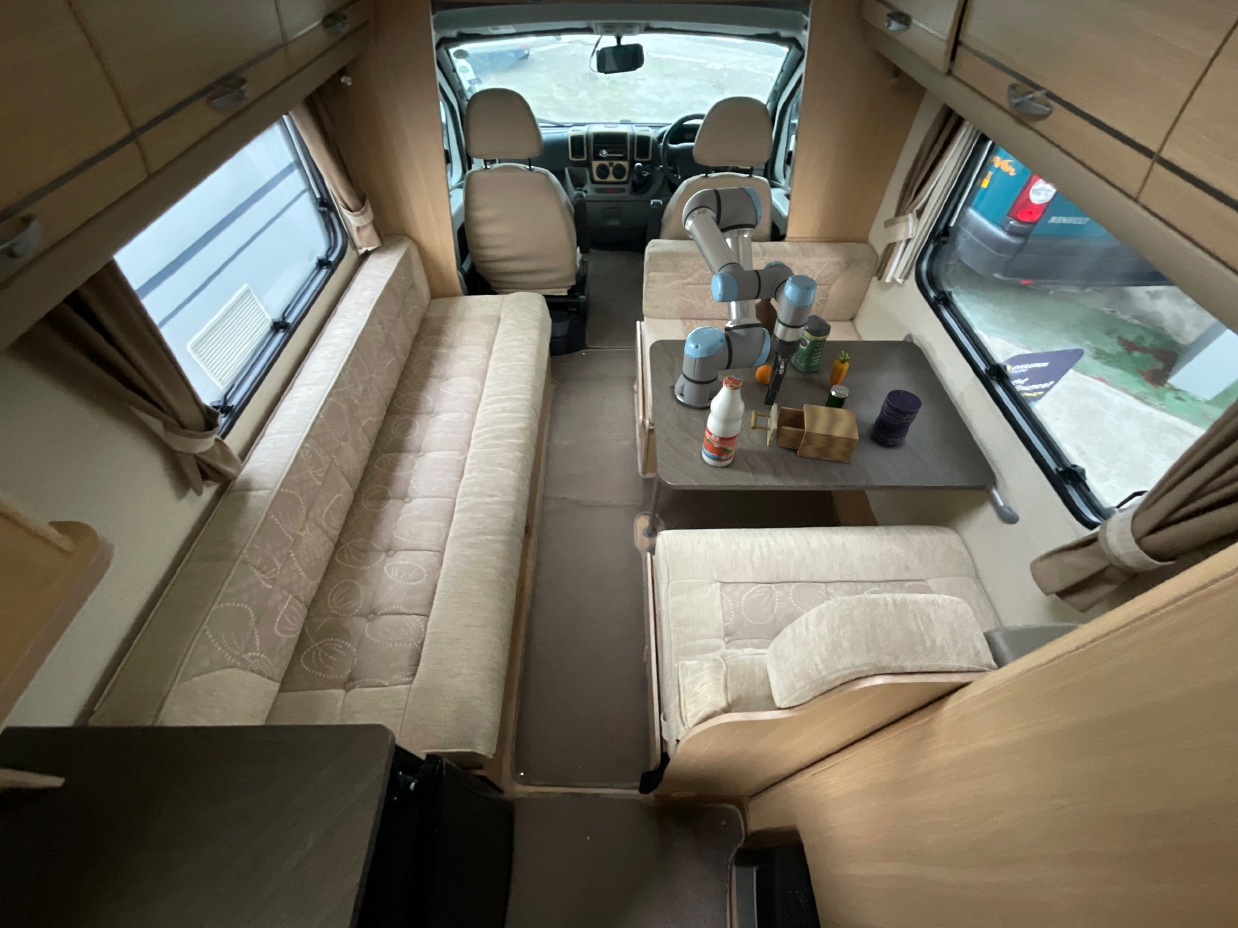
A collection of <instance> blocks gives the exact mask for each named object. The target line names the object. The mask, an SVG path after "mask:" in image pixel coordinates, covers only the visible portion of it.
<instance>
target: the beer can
mask: <svg viewBox="0 0 1238 928" xmlns="http://www.w3.org/2000/svg"><path fill="white" fill-rule="evenodd" d="M848 397H849V388H848V387H847V386H846V385H844V384H843V385H842V384H840V385H834V386H833V387H832V388H830V390H829V393H828V395H827V399H826V401H825V404H824V407H831V408H838V409H844V406H845V404H846V401H847V399H848Z"/></svg>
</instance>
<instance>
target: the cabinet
mask: <svg viewBox="0 0 1238 928" xmlns="http://www.w3.org/2000/svg"><path fill="white" fill-rule="evenodd" d="M824 406H825V405H824ZM824 406H823V405H816V404H810V403H809V404H808V403H804V404H803V406H802V410H804V420H805V433H804V436H803V439H802V442H801V445H800V448H799V449H796V452H797V457H803V458H804V457H805V458H812V459H818V460H823V461H824V460H825V461H831V462H836V463H837V462H838V463H844V464H849V463H850V460H851V459H852V455H853V453H854V451H855V449H856V447H857V445H858V442H859V440H860V438H859V437H860V436H859V430H858V424H857V416H856V410H853V409H852V410H851V409H845V408H843V409H838V408H831V407H824Z"/></svg>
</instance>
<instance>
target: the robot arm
mask: <svg viewBox="0 0 1238 928" xmlns="http://www.w3.org/2000/svg"><path fill="white" fill-rule="evenodd" d="M762 215H763V206H762V201H761V197H760V195H759V193H758V191H756V189H755V188H753V187H751V186H734V187H733V186H732V187H717V188H716V187H715V188H704V189H702V190H699V191H697V192H696V193H694V194H693V195H692V196H691V197H690V198H689V199H688V200H687V202H686V203H685V206H684V207H683V210H682V216H681V222H682V223H681V224H682V227H683V229H684V231H685V233H686V235H687V236H688V237H689V239H692V240H693V241H694V243H695V245H696V246H697V248H698V250H699V252H700V254H701V256H702V258H703V259H704V261H705V264H706V265H707V267H708V269H709V271H710V272H711V274H712V276H713V277H712V279H711V283H710V287H711V288H710V290H711V294H712V298H713V300H714V301H715V302H717V303H726V306H727V319H728V320H727V323H725V325H724V327H723V329H724V331H723V329H721V328H719V327H716V326H714V327H713V326H711V325H706V326H699V327H697V328H695V329H694V330H692V331H690V332H689V334H688V335H687V337H686V340H685V345H684V348H683V349H684V350H683V351H684V354H683V360H682V361H683V362H682V371H681V374H680V375H679V377H678V379H677V381H676V383H675V384H673V385H670V388H671V389H673V388H674V389H673V396H674V398H675V399H676V401H677V402H678V403H680V404H681V405H682V406H685V407H688V408H691V409H695V410H696V409H697V410H701V409H702V410H704V409H709V408H711V403H712V400H713V399H714V397H715V396H716V395H718V393H719V392H720V391H721V389H722V388H723V387H721V386H720V381H719V372H720V371H727V370H737V369H744V368H745V369H746V368H747V369H750V368H753V367H760V366H763V364H765V362H766V361H767V359H768V357H769V354H770V350H771V349H772V350H773V351H774V352H773V358H772V359H773V360H772V365H771V367H772V369H771V374H770V380H769V384H766V393H765V397H764V400H763V405H764V406H769V407H772V406H773V405H774V403H775V401H776V398H777V394H778V393H779V392H780V389H781V386H782V383H783V381H784V378H785V376H786V373H787V367H788V364H789V363H790V360H791V355H793V354H794V353H796V352H797V351H798V350H799V347H800V344H801V340H802V336H803V333H804V329H807V328H808V327H807V326H806V323H807V320H808V317H809V316H810V314H811V311H812V307H813V304H814V302H815V298H816V293H817V289H818V283H817V282H816V280H815V279H814V278H812V277H809V276H808V275H805V274H795V273H794V272H793V270H792V269H791V268H790V267H789V266H788V265H787V264H785V263H784V262H783V261H780V260H773V261H771V262H769V263H768V264H765V266H764V267H763V268H759V269H754V265H753V263H754V262H753V250H752V237H753V236H754V234H755V233H756V228H757V227H758V226H759V225H761V221H762ZM768 298H771V299H774V301H775V302H776V303H777V304H778V305H779V310H778V312H777V316H778V317H777V320H776V324H775V328H774V333H773V336H772V339H771V342H770V335H769V332H768V331H767V330H766V329H764V328H762V322H761V321H759V320H758V319H757V318H756V306H755V304H756V300H761V299H768Z"/></svg>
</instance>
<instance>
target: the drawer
mask: <svg viewBox="0 0 1238 928" xmlns="http://www.w3.org/2000/svg"><path fill="white" fill-rule="evenodd" d="M758 417H764V418H768V420H767V426H761V425H758ZM750 425H751V426H750V428H751V430H753V431H754V430H755V431H756V430H757V429H758V430H765V431H767V438H766V439H767V443H766V445H767V446H766V447H767V448H769V449H771V448H772V446H773V443H774V440H775V446H776V447H781V448H788V449H794V450H797V449H799V448H800V445H801V442H802V439H803V436H804V433H805V420H804V410H803V408H802V409H800V408H795V407H794V408H793V407H787V406H781V408H780V410H779V413H778V403H775V402H774V405H773V406H771V410H770V413H769V414H766V413H761V412H757V410H753V411H752V412H751V422H750ZM775 437H776V438H775Z"/></svg>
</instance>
